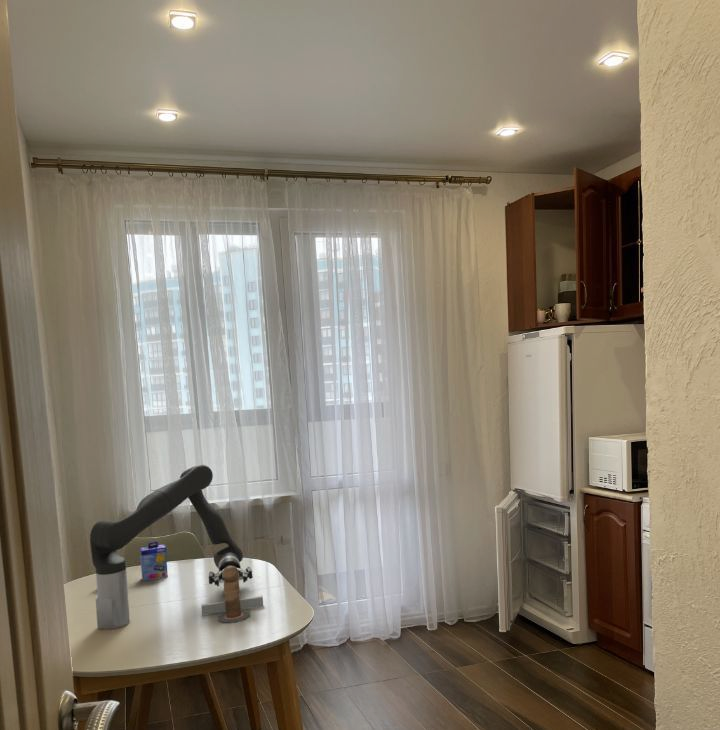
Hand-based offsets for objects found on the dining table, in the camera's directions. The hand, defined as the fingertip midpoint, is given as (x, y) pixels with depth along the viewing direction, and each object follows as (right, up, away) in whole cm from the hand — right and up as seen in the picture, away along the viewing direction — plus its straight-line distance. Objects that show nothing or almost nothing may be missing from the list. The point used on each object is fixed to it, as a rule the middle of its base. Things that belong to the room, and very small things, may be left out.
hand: (231, 581), depth 219 cm
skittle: (+1, -10, -3) cm, 10 cm away
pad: (+2, -10, -4) cm, 11 cm away
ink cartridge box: (-40, -15, +50) cm, 66 cm away
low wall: (0, -11, +4) cm, 11 cm away
